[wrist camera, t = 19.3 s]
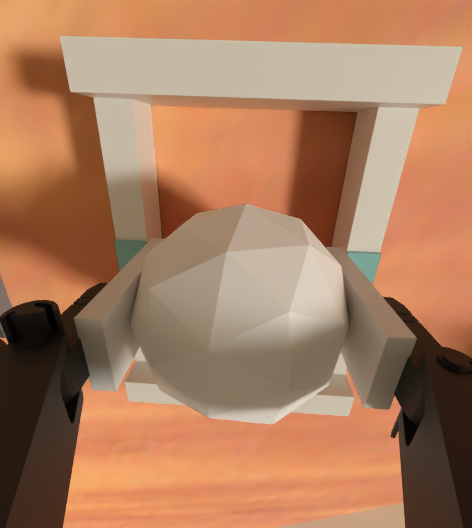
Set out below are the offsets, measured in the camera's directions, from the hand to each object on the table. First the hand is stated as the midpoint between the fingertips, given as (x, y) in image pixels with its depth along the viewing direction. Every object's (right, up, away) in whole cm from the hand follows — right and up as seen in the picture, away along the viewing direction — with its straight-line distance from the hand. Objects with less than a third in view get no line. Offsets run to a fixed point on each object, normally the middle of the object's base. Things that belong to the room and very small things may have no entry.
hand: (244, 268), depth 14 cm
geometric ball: (0, 0, 0) cm, 0 cm away
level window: (0, +1, +3) cm, 3 cm away
